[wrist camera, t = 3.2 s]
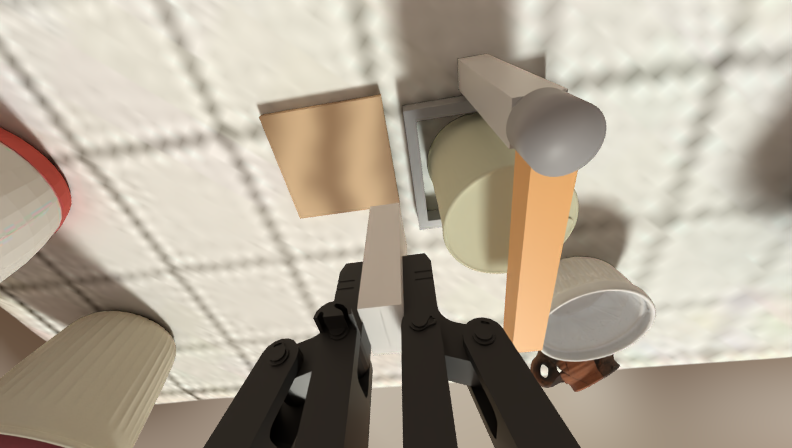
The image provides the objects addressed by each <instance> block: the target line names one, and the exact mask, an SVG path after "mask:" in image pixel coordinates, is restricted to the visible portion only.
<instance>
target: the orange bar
mask: <svg viewBox="0 0 792 448" xmlns="http://www.w3.org/2000/svg"><path fill="white" fill-rule="evenodd" d="M506 134H507V138H508V141H509V143H510V144H511V145H512V147H513V148H514V149H515V165H514V180H513V194H512V209H511V224H510V238H509V253H508V268H507V283H506V297H505V312H504V327H503V329H504V331H505V332H506V334H507V335H508V337H509V338H510V340H511V341H512V343H513V344H514V346H515V348H516V349H517V351H518V352H530V351H541V350H542V349H543V344H544V339H545V334H546V328H547V323H548V318H549V313H550V308H551V303H552V298H553V293H554V288H555V283H556V278H557V273H558V268H559V263H560V258H561V253H562V247H563V242H564V237H565V232H566V227H567V222H568V217H569V212H570V207H571V202H572V197H573V192H574V187H575V182H576V177H577V171H578V170H579V169H580V168H582V167H583V166H585V165H586V164H587V163H588V162H589V161H590V160H591V159H592V158H593V157H594V156H595V155H596V154H597V152H598V151H599V149H600V147H601V146H602V143H603V141H604V138H605V134H606V121H605V117H604V115H603V113H602V112H601V111H600V109H599V108H597V107H596V106H595V105H593V104H591V103H589V102H587V101H584V100H582V99H580V98H578V97H576V96H574V95H571V94H569V93H567V92H565V91H563V90H560V89H558V88H553V87H545V88H540V89H537V90H534V91H532V92H530V93H528V94H527V95H525V96H524V97H523V98H521V99H520V100H519V101H518V102H517V103H516V105H515V106H514V107H513V109H512V110H511V112H510V114H509V117H508V120H507V124H506Z"/></svg>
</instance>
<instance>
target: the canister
mask: <svg viewBox="0 0 792 448" xmlns="http://www.w3.org/2000/svg"><path fill="white" fill-rule="evenodd" d="M175 356H176V345H175V343H174V340H173V338H172V336H171V335H170V334H169V333H168V331H166V330H165V329H164V328H163V327H161V326H160V325H159V324H157V323H155V322H153V321H151V320H149V319H147V318H144V317H142V316H140V315H135V314H133V313H128V312H121V311H101V312H96V313H92V314H90V315H87V316H84V317H82V318H80V319H78V320H77V321H75V322H74V323H72V324H71V325H69V326H68V327H66V328H65V329H63V330H62V331H61V332H59V333H58V334H57V335H55V336H54V337H53V338H51V339H50V340H49V341H47V342H46V343H45V344H44V345H42V346H41V347H40V348H38V349H37V350H36V351H34V352H33V353H32V354H30V355H29V356H28V357H27V358H25V359H24V360H23V361H21V362H20V363H19V364H18V365H16V366H15V367H14V368H13V369H11V370H10V371H9V372H8V373H6V374H5V375H4V376H2V378H0V448H133V447H134V445H135V443H136V441H137V439H138V437H139V435H140V432H141V431H142V429H143V426H144V424H145V422H146V420H147V418H148V416H149V414H150V412H151V410H152V408H153V406H154V404H155V402H156V400H157V398H158V396H159V394H160V392H161V390H162V387H163V385H164V383H165V381H166V379H167V377H168V374H169V372H170V370H171V368H172V365H173V363H174V359H175Z"/></svg>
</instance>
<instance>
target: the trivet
mask: <svg viewBox="0 0 792 448" xmlns="http://www.w3.org/2000/svg"><path fill="white" fill-rule="evenodd" d="M259 119H260V121H261V123H262V126H263V128H264V131H265V133H266V136H267V138H268V141H269V143H270V146H271V148H272V150H273V153H274V155H275V158H276V160H277V163H278V165H279V168H280V170H281V173H282V175H283V177H284V180H285V182H286V185H287V187H288V190H289V192H290V195H291V197H292V200H293V202H294V204H295V207H296V209H297V212H298V214H299V217H300V219H301V218H308V217H315V216H323V215H330V214H337V213H344V212H351V211H359V210H366V209H370V207H371V206H379V205H386V204H393V203H399V205H400V201H399V195H398V189H397V184H396V178H395V172H394V167H393V161H392V155H391V149H390V144H389V138H388V132H387V127H386V121H385V115H384V110H383V104H382V98H381V94H380V95H374V96H368V97H362V98H356V99H350V100H344V101H339V102H333V103H327V104H321V105H315V106H309V107H304V108H298V109H292V110H286V111H280V112H274V113H268V114H263V115H261V116H260V117H259Z"/></svg>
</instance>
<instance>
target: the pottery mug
mask: <svg viewBox="0 0 792 448" xmlns="http://www.w3.org/2000/svg"><path fill="white" fill-rule="evenodd" d="M613 355H614V354H612V355H609V356H606V357H603V358H599V359H594V360H588V361H576V362H574V361H562V360H557V359H554V358H551V357H549V356H547V355H545V354H544V353H542V352H541V351H538V354H537V356H536V357H535V358H534V359H533V361H532V363H531V369H530V371H531V372H532V374H533V375H534V377H535V378H536V380H537V381H538V383H539V384H540V386H542V387H546V388H549V387H553V386H555V385H557V384H558V383H561V382H565V383H566V384H569V385H570V386H571V387H572V388H573V390H574V391H575V392H578V391H581V390H583V389H585V388H587V387H589V386H591V385H592V384H595V383H596V382H598V381H600V380H601V379H603V378H605V377H607V376H608V375H610V374H611V373H613V372H614V371H615V370H617V369H618V368H619V366H620V365H619V364H618V363H617V362H616V361H615V360H614V357H613ZM542 364H543V365H545V366H547V367H548V377H547V378H544V377H542V375H541V373H540V368H541V365H542ZM556 366H557V367H558V368H559V369H560V370H562V371H561V372H560V373H559V372H558V371H557V367H556Z"/></svg>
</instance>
